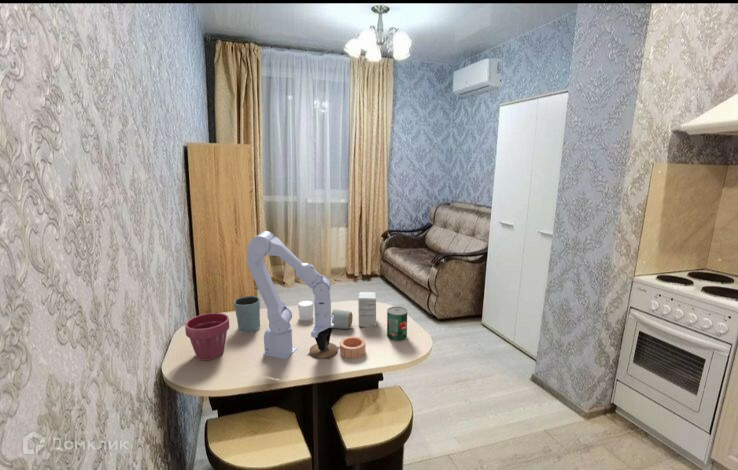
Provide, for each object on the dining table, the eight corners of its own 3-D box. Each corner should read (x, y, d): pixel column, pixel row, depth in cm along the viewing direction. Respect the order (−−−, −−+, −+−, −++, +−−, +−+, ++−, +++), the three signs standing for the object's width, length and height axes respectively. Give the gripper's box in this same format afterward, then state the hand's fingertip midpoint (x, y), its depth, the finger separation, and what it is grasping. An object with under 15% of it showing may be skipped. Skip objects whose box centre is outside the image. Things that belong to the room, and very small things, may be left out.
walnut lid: (304, 355, 130) (304, 345, 129) (317, 342, 139) (317, 333, 138) (330, 360, 127) (330, 350, 126) (341, 346, 136) (341, 337, 135)
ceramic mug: (350, 332, 148) (350, 314, 147) (330, 331, 149) (329, 313, 148) (354, 321, 159) (354, 304, 157) (335, 320, 160) (335, 303, 158)
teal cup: (254, 334, 147) (252, 305, 144) (231, 332, 148) (228, 304, 146) (265, 323, 157) (264, 296, 154) (243, 321, 158) (241, 295, 156)
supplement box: (359, 319, 161) (359, 291, 158) (376, 319, 160) (376, 291, 158) (358, 326, 153) (357, 298, 151) (375, 327, 153) (376, 298, 151)
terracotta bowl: (336, 356, 130) (335, 346, 129) (345, 344, 138) (345, 335, 137) (360, 361, 127) (360, 350, 126) (368, 348, 135) (368, 338, 135)
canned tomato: (408, 341, 141) (408, 314, 139) (387, 341, 141) (387, 314, 139) (405, 332, 149) (406, 306, 146) (386, 332, 149) (386, 306, 146)
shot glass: (317, 317, 163) (316, 302, 161) (306, 322, 157) (306, 307, 156) (305, 313, 166) (305, 298, 165) (294, 319, 161) (294, 303, 159)
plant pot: (210, 341, 141) (208, 309, 139) (240, 348, 136) (237, 315, 133) (179, 359, 128) (175, 325, 126) (210, 368, 123) (206, 332, 120)
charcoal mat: (306, 356, 130) (306, 355, 130) (318, 344, 139) (318, 343, 139) (329, 360, 127) (329, 359, 127) (340, 348, 136) (340, 347, 136)
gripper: (324, 321, 122) (325, 359, 125) (341, 305, 135) (341, 339, 138) (305, 318, 124) (306, 355, 127) (323, 303, 138) (324, 336, 140)
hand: (323, 347), depth 133 cm, fingers closed on walnut lid, 3 cm apart
